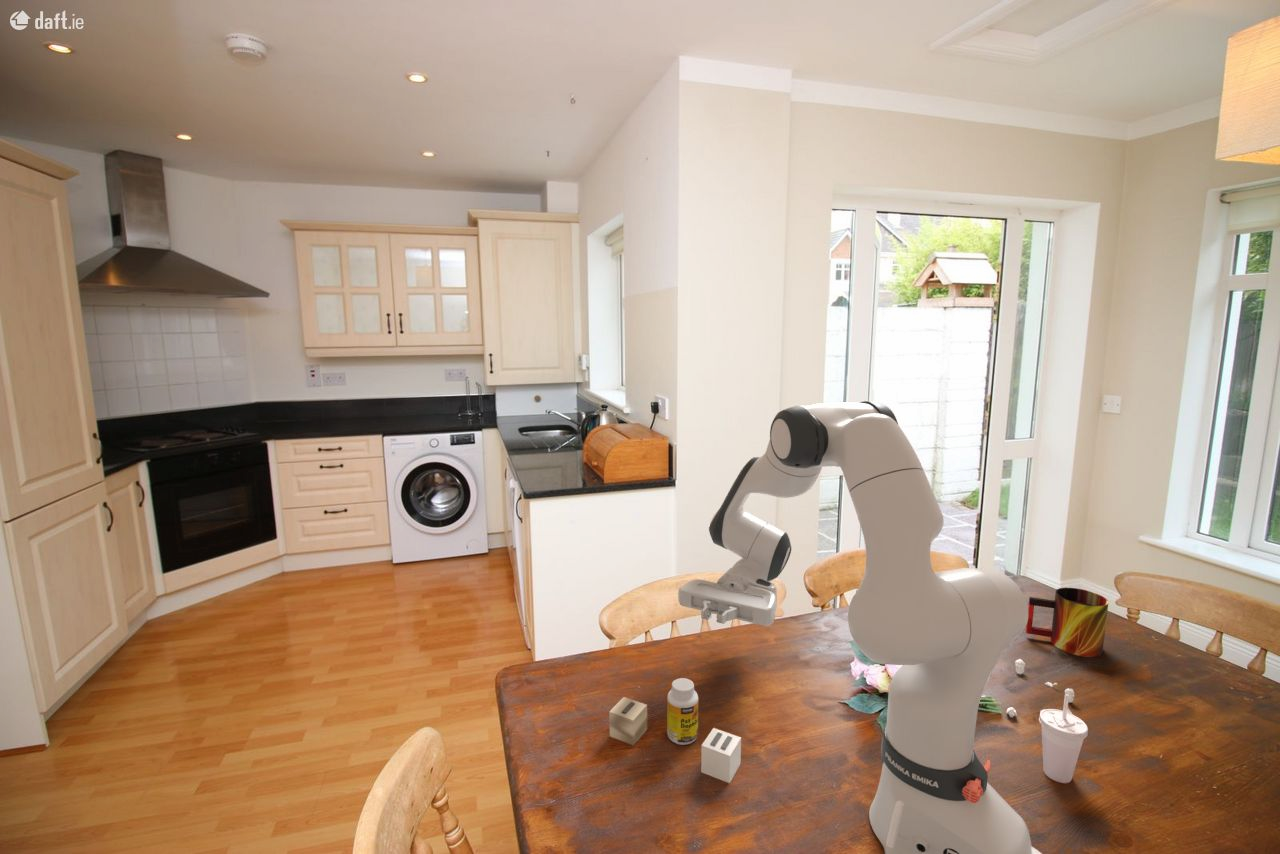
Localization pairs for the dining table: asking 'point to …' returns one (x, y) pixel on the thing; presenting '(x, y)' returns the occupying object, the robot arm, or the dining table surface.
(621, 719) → the marked birch block
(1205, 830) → the dining table surface
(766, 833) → the dining table surface
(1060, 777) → the smoothie
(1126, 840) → the dining table surface
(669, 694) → the supplement bottle
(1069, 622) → the mug
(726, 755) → the marked off-white block
